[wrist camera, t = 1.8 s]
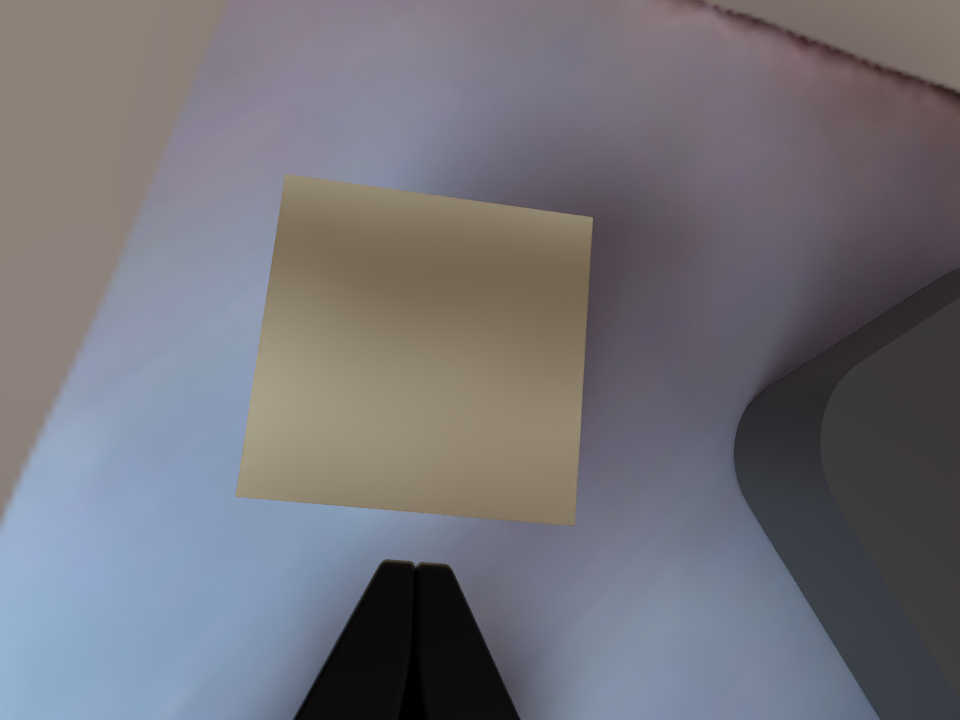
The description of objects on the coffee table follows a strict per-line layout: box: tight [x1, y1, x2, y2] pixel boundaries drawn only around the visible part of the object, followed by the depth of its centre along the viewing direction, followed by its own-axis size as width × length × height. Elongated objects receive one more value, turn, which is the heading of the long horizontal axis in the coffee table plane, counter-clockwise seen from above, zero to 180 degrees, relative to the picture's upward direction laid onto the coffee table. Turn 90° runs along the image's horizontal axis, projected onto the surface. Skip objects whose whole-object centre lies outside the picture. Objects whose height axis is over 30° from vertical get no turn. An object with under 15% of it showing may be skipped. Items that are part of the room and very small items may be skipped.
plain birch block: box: [236, 174, 593, 526], centre depth 18 cm, size 6×6×10 cm
